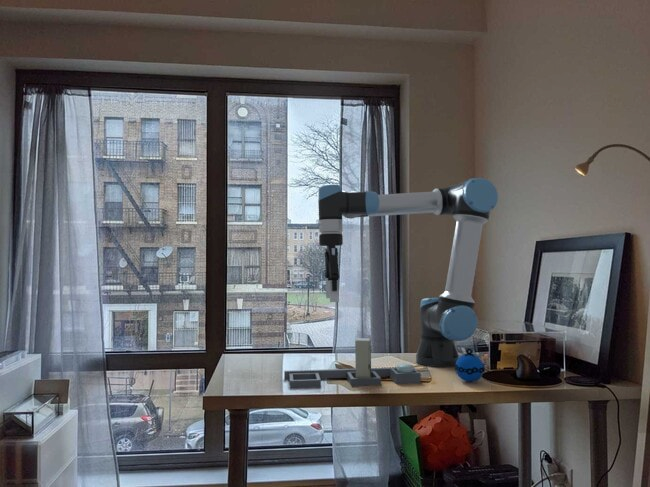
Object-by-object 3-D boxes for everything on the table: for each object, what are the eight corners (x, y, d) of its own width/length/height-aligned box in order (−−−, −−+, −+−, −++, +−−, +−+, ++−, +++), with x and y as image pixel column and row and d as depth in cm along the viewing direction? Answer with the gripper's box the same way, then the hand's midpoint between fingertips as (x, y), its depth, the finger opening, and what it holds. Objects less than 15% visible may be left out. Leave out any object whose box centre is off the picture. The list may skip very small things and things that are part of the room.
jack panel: (403, 375, 156) (403, 367, 156) (412, 383, 145) (412, 375, 145) (284, 378, 152) (284, 370, 152) (284, 388, 142) (284, 379, 142)
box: (369, 384, 145) (369, 341, 146) (355, 383, 146) (354, 340, 147) (371, 379, 151) (371, 338, 151) (357, 379, 151) (357, 337, 152)
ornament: (455, 384, 145) (454, 350, 145) (455, 377, 153) (454, 345, 153) (485, 386, 142) (484, 352, 143) (483, 379, 151) (483, 346, 151)
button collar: (413, 376, 154) (413, 367, 154) (420, 383, 146) (420, 373, 146) (390, 377, 153) (390, 367, 153) (396, 383, 146) (395, 373, 146)
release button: (410, 371, 152) (410, 363, 153) (415, 375, 147) (415, 367, 148) (395, 372, 152) (395, 363, 152) (399, 375, 147) (399, 367, 147)
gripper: (316, 235, 168) (317, 296, 167) (322, 231, 143) (323, 304, 142) (338, 234, 168) (339, 296, 168) (347, 231, 143) (349, 303, 143)
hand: (332, 299), depth 155 cm, fingers open, 13 cm apart
